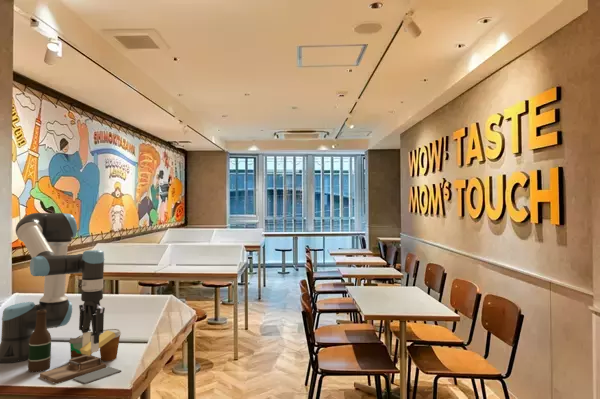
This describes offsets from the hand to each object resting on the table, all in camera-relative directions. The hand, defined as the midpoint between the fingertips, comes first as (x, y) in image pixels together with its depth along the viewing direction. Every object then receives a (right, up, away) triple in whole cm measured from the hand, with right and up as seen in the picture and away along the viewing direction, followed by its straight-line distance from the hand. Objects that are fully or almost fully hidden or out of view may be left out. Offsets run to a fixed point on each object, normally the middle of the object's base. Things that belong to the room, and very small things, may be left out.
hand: (90, 350), depth 155 cm
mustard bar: (+2, +1, +3) cm, 4 cm away
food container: (-14, -12, +23) cm, 30 cm away
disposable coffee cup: (-3, -12, +22) cm, 25 cm away
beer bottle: (-26, -11, +9) cm, 29 cm away
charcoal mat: (+2, -11, +2) cm, 11 cm away
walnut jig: (-10, -11, +6) cm, 16 cm away
